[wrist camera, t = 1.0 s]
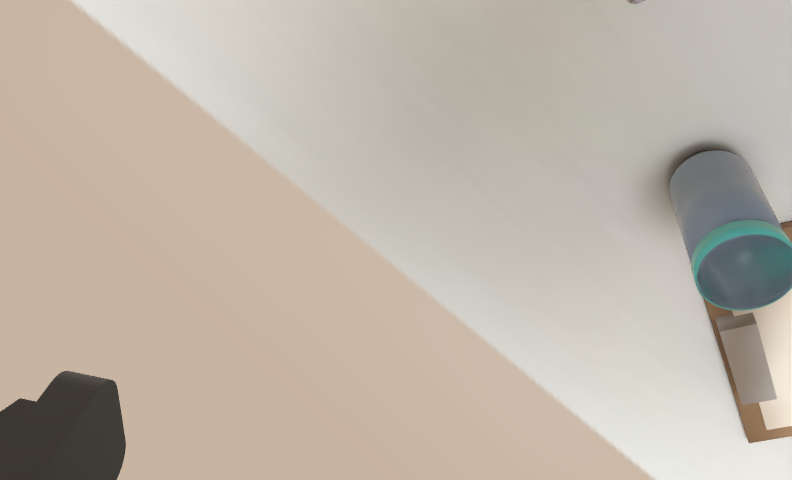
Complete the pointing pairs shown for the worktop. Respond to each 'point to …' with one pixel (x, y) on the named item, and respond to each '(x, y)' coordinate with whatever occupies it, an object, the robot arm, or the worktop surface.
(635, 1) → the cake pan box
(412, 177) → the worktop surface
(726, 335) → the clipboard
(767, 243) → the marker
